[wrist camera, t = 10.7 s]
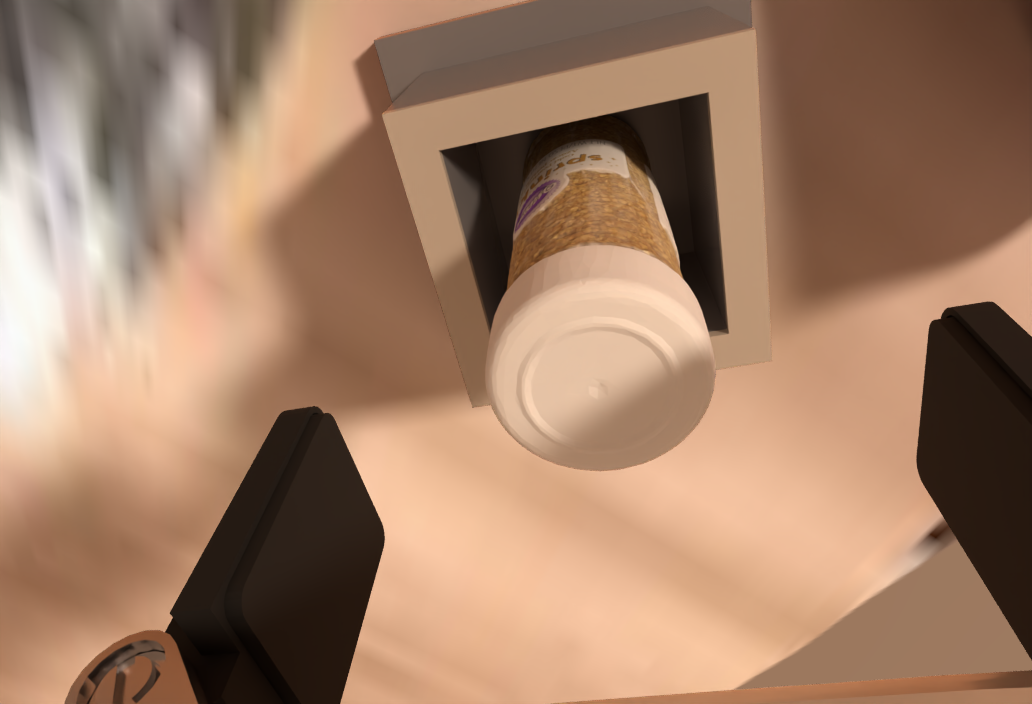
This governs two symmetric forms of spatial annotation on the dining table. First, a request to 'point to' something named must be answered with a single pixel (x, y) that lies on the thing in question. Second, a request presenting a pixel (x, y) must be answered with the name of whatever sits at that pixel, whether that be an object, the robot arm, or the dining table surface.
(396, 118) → the well
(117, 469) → the dining table surface
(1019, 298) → the dining table surface
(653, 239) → the sprinkles bottle
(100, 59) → the dining table surface
